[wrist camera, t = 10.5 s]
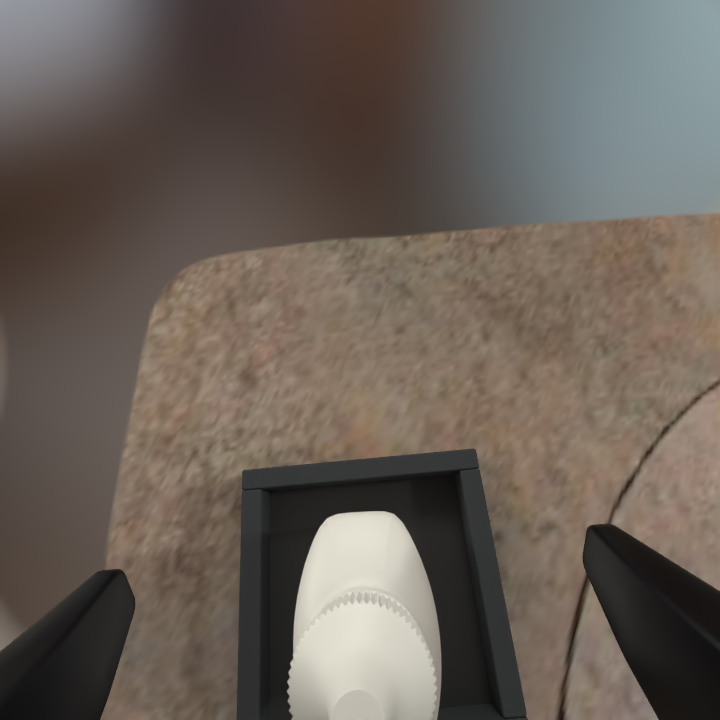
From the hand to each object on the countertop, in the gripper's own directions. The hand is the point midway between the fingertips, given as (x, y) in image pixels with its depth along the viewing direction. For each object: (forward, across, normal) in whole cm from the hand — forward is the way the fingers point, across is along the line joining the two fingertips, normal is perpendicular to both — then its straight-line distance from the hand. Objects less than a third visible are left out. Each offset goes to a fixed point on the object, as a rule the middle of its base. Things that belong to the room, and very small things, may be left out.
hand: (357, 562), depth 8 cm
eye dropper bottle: (+6, 0, +8) cm, 10 cm away
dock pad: (+7, 0, +9) cm, 11 cm away
